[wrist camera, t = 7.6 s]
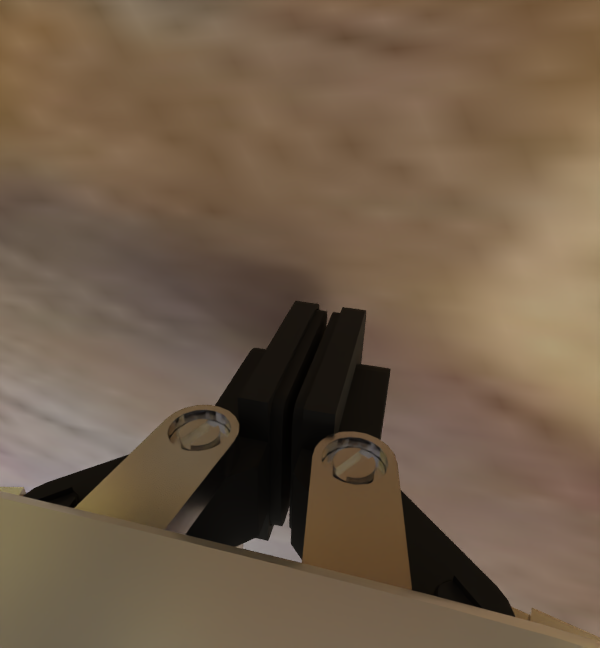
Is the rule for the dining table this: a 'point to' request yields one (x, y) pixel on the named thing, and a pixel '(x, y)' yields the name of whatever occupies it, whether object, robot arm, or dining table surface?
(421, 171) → the dining table surface
